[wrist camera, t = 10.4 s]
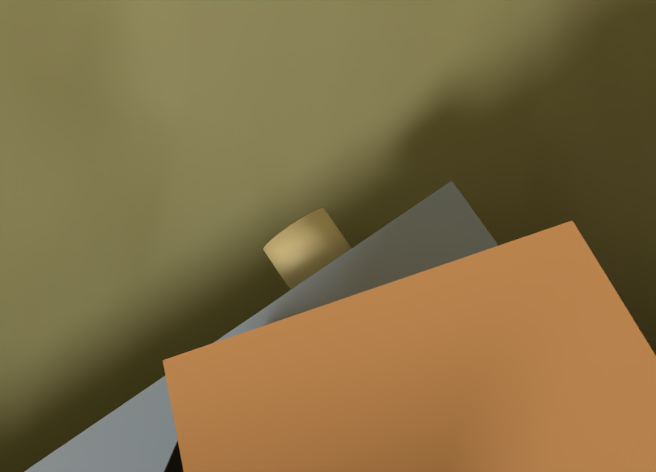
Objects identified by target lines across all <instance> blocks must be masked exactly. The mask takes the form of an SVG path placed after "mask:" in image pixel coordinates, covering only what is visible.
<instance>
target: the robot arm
mask: <svg viewBox="0 0 656 472" xmlns="http://www.w3.org/2000/svg"><path fill="white" fill-rule="evenodd" d="M164 472H184V471H183V466H182V460H181V455H180V450H179V444H178V440H177V442H176V445H175V447H174V449H173V452H172V454H171V456H170V459H169V461H168V463H167V466H166V468H165V470H164Z"/></svg>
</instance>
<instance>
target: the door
mask: <svg viewBox="0 0 656 472" xmlns="http://www.w3.org/2000/svg"><path fill="white" fill-rule="evenodd" d="M496 246H499V245H498V244H497V242H496V241H495V240H494V238H493V237H492V236H491V234H490V233H489V231H488V230H487V229H486V227H485V226H484V225H483V223H482V222H481V220H480V219H479V218H478V216H477V215H476V213H475V212H474V211H473V209H472V208H471V207H470V205H469V204H468V202H467V201H466V200H465V198H464V197H463V195H462V194H461V193H460V191H459V190H458V189H457V187H456V186H455V184H454V183H453V182H452V180H451V181H450V182H449V183H447V184H446V185H444V186H443V187H441V188H440V189H438V190H437V191H435V192H434V193H432V194H431V195H429V196H428V197H427V198H425V199H424V200H422V201H421V202H419V203H418V204H416V205H415V206H413V207H412V208H410V209H409V210H407V211H406V212H405V213H403V214H402V215H400V216H399V217H397V218H396V219H394V220H393V221H391V222H390V223H388V224H387V225H385V226H384V227H382V228H381V229H380V230H378V231H377V232H375V233H374V234H372V235H371V236H369V237H368V238H366V239H365V240H363V241H362V242H360V243H359V244H358V245H356V246H355V247H353V248H351V247H350V245H349V244H348V242H347V241H346V239H345V238H344V237H343V235H342V234H341V232H340V231H339V229H338V228H337V226H336V225H335V224H334V222H333V221H332V219H331V218H330V216H329V215H328V213H327V212H326V210H325V209H324V208H321V209H318V210H315V211H313V212H311V213H309V214H308V215H306V216H304V217H302V218H301V219H299V220H298V221H296V222H294V223H293V224H291V225H290V226H288V227H287V228H286V229H284V230H283V231H282V232H280V233H279V234H278V235H276V236H275V237H274V238H273V239H272V240H270V241H269V242H268V243H267V244H266V245H265V247H264V248H263V250H264V252H265V253H266V254H267V256H268V257H269V259H270V260H271V262H272V263H273V265H274V266H275V268H276V269H277V271H278V272H279V274H280V275H281V277H282V278H283V280H284V281H285V283H286V284H287V286H288V287H289V289H290V291H289V292H287V293H286V294H284V295H283V296H281V297H280V298H278V299H277V300H275V301H274V302H272V303H271V304H269V305H268V306H267V307H265V308H264V309H262V310H261V311H259V312H258V313H256V314H255V315H253V316H252V317H250V318H249V319H247V320H246V321H245V322H243V323H242V324H240V325H239V326H237V327H236V328H234V329H233V330H231V331H230V332H228V333H227V334H225V335H224V336H222V337H221V338H220V339H218V340H217V341H215V342H218V341H221V340H224V339H227V338H229V337H232V336H235V335H238V334H241V333H244V332H247V331H250V330H253V329H256V328H259V327H262V326H265V325H268V324H270V323H273V322H276V321H279V320H282V319H285V318H288V317H291V316H294V315H297V314H300V313H303V312H306V311H309V310H311V309H314V308H317V307H320V306H323V305H326V304H329V303H332V302H335V301H338V300H341V299H344V298H347V297H350V296H352V295H355V294H358V293H361V292H364V291H367V290H370V289H373V288H376V287H379V286H382V285H385V284H388V283H391V282H393V281H396V280H399V279H402V278H405V277H408V276H411V275H414V274H417V273H420V272H423V271H426V270H429V269H432V268H434V267H437V266H440V265H443V264H446V263H449V262H452V261H455V260H458V259H461V258H464V257H467V256H470V255H473V254H475V253H478V252H481V251H484V250H487V249H490V248H493V247H496ZM215 342H214V343H215ZM177 440H178V439H177V434H176V428H175V423H174V418H173V413H172V407H171V402H170V397H169V391H168V386H167V381H166V375H165V376H164V377H162V378H161V379H159V380H158V381H156V382H155V383H154V384H152V385H151V386H149V387H148V388H146V389H145V390H143V391H142V392H140V393H139V394H137V395H136V396H134V397H133V398H131V399H130V400H129V401H127V402H126V403H124V404H123V405H121V406H120V407H118V408H117V409H115V410H114V411H112V412H111V413H109V414H108V415H107V416H105V417H104V418H102V419H101V420H99V421H98V422H96V423H95V424H93V425H92V426H90V427H89V428H87V429H86V430H85V431H83V432H82V433H80V434H79V435H77V436H76V437H74V438H73V439H71V440H70V441H68V442H67V443H65V444H64V445H62V446H61V447H60V448H58V449H57V450H55V451H54V452H52V453H51V454H49V455H48V456H46V457H45V458H43V459H42V460H40V461H39V462H38V463H36V464H35V465H33V466H32V467H30V468H29V469H27V470H26V471H24V472H164V470H165V468H166V466H167V463H168V461H169V459H170V456H171V454H172V452H173V449H174V447H175V445H176V442H177Z"/></svg>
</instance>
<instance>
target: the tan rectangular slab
mask: <svg viewBox="0 0 656 472" xmlns="http://www.w3.org/2000/svg"><path fill="white" fill-rule="evenodd" d="M163 365H164V370H165V375H166V381H167V386H168V391H169V397H170V402H171V407H172V413H173V418H174V423H175V428H176V434H177V439H178V444H179V450H180V455H181V460H182V466H183V471H184V472H656V355H655V354H654V352H653V350H652V349H651V347H650V346H649V344H648V342H647V341H646V339H645V337H644V336H643V334H642V333H641V331H640V329H639V328H638V326H637V324H636V323H635V321H634V320H633V318H632V316H631V315H630V313H629V311H628V310H627V308H626V307H625V305H624V303H623V302H622V300H621V298H620V297H619V295H618V294H617V292H616V290H615V289H614V287H613V285H612V284H611V282H610V281H609V279H608V277H607V276H606V274H605V272H604V271H603V269H602V268H601V266H600V264H599V263H598V261H597V259H596V258H595V256H594V255H593V253H592V251H591V250H590V248H589V246H588V245H587V243H586V242H585V240H584V238H583V237H582V235H581V234H580V232H579V230H578V229H577V227H576V225H575V224H574V222H573V221H569V222H566V223H563V224H560V225H557V226H555V227H552V228H549V229H546V230H543V231H540V232H537V233H534V234H531V235H528V236H525V237H522V238H519V239H516V240H514V241H511V242H508V243H505V244H502V245H499V246H496V247H493V248H490V249H487V250H484V251H481V252H478V253H475V254H473V255H470V256H467V257H464V258H461V259H458V260H455V261H452V262H449V263H446V264H443V265H440V266H437V267H434V268H432V269H429V270H426V271H423V272H420V273H417V274H414V275H411V276H408V277H405V278H402V279H399V280H396V281H393V282H391V283H388V284H385V285H382V286H379V287H376V288H373V289H370V290H367V291H364V292H361V293H358V294H355V295H352V296H350V297H347V298H344V299H341V300H338V301H335V302H332V303H329V304H326V305H323V306H320V307H317V308H314V309H311V310H309V311H306V312H303V313H300V314H297V315H294V316H291V317H288V318H285V319H282V320H279V321H276V322H273V323H270V324H268V325H265V326H262V327H259V328H256V329H253V330H250V331H247V332H244V333H241V334H238V335H235V336H232V337H229V338H227V339H224V340H221V341H218V342H215V343H212V344H209V345H206V346H203V347H200V348H197V349H194V350H191V351H188V352H186V353H183V354H180V355H177V356H174V357H171V358H168V359H165V360H163Z"/></svg>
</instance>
